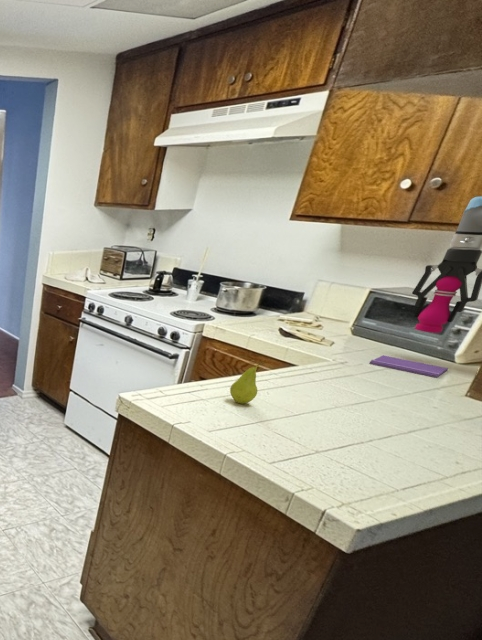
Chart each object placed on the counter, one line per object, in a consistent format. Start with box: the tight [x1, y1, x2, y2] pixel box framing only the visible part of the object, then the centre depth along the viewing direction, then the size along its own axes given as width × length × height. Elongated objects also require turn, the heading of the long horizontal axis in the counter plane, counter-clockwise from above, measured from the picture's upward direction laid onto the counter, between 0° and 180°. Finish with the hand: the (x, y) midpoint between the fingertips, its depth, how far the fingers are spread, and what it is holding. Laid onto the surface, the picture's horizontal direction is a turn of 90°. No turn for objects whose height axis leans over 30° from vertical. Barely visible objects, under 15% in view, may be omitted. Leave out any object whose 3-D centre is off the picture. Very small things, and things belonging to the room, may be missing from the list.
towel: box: [368, 354, 449, 379], centre depth 156 cm, size 16×14×1 cm
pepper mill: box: [414, 276, 462, 334], centre depth 156 cm, size 7×7×20 cm
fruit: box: [229, 361, 264, 405], centre depth 123 cm, size 6×6×12 cm
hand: (433, 318), depth 158 cm, fingers closed on pepper mill, 7 cm apart
